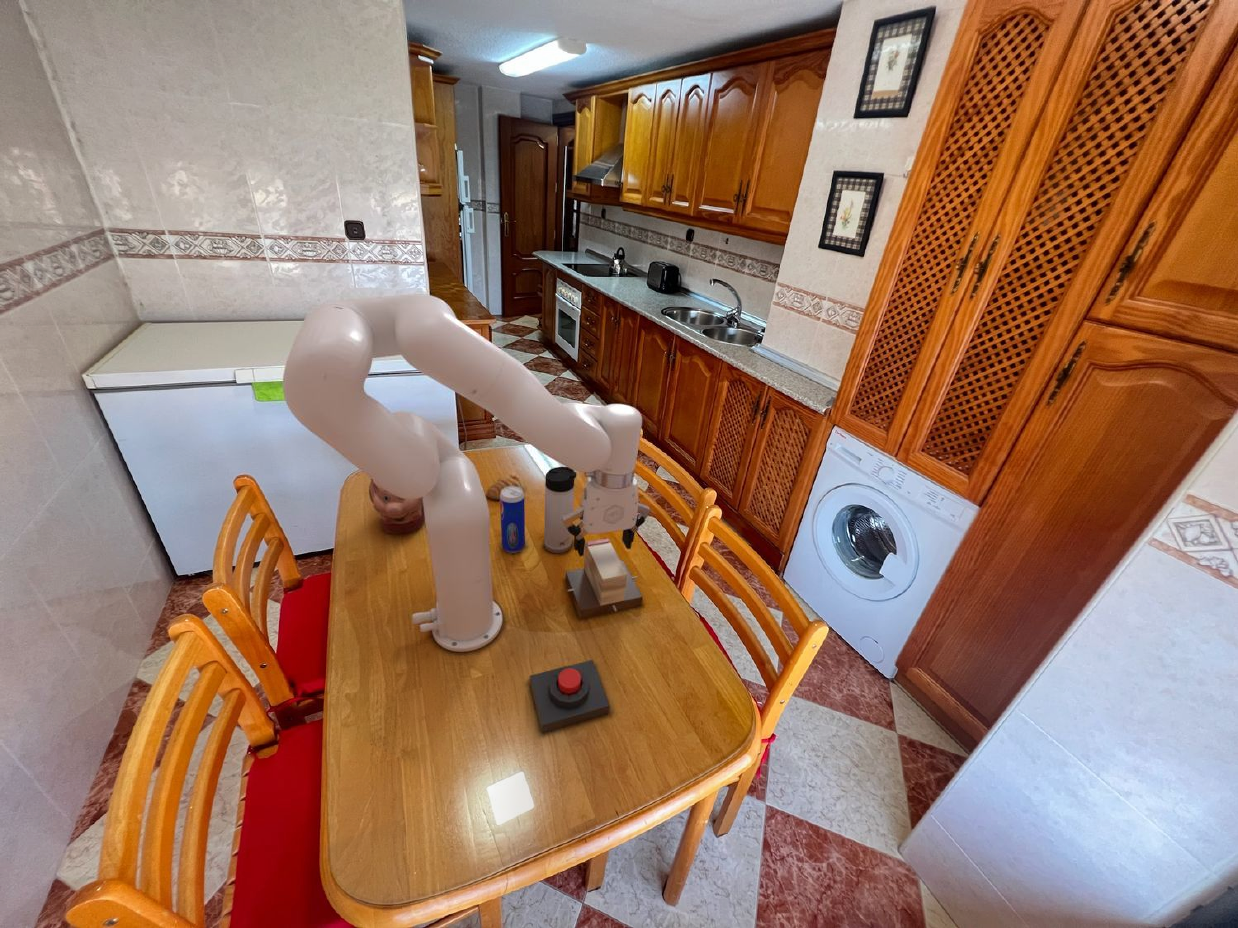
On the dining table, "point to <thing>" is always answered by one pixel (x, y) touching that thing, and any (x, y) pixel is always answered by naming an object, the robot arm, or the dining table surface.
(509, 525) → the beverage can
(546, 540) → the travel mug
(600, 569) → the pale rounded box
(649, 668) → the dining table surface
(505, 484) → the pastry
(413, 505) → the decorative planter
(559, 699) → the button block
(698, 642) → the dining table surface
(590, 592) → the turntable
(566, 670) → the button
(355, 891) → the dining table surface
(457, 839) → the dining table surface
